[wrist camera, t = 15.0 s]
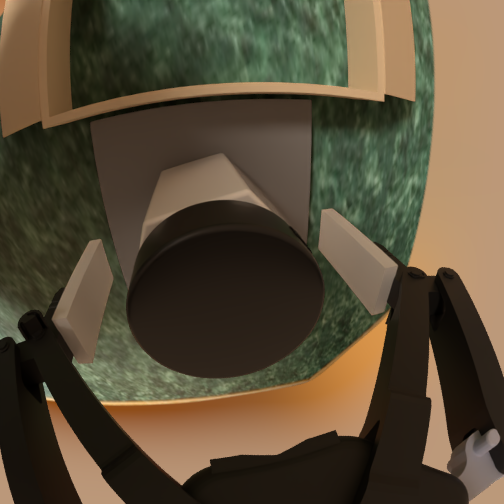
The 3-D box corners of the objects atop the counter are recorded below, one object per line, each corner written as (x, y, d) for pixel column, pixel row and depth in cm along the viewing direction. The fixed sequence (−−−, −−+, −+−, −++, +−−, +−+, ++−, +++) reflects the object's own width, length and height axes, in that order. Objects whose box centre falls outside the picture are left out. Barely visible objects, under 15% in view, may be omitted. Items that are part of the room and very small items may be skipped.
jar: (241, 267, 24) (282, 385, 14) (145, 252, 21) (125, 376, 11) (275, 166, 20) (364, 238, 10) (166, 140, 18) (137, 189, 8)
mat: (133, 301, 24) (133, 304, 24) (92, 121, 16) (89, 121, 16) (302, 276, 27) (303, 279, 26) (308, 99, 19) (311, 99, 18)
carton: (19, 140, 15) (-9, 150, 11) (20, 0, 8) (-3, -11, 5) (397, 105, 20) (428, 111, 17) (389, -17, 13) (417, -27, 10)
